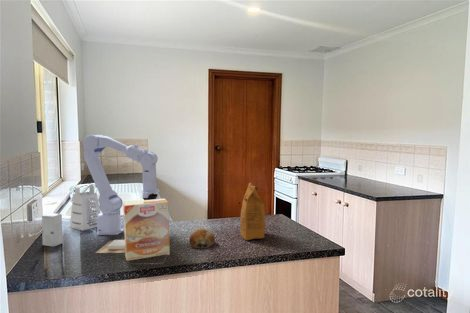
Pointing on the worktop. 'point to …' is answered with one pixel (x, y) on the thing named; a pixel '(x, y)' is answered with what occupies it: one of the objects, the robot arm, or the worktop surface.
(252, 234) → the coffee package
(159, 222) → the coffeecake box
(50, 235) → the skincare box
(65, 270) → the worktop surface
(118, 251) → the mat
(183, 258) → the worktop surface
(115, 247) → the tile
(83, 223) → the grater
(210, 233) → the bread roll
